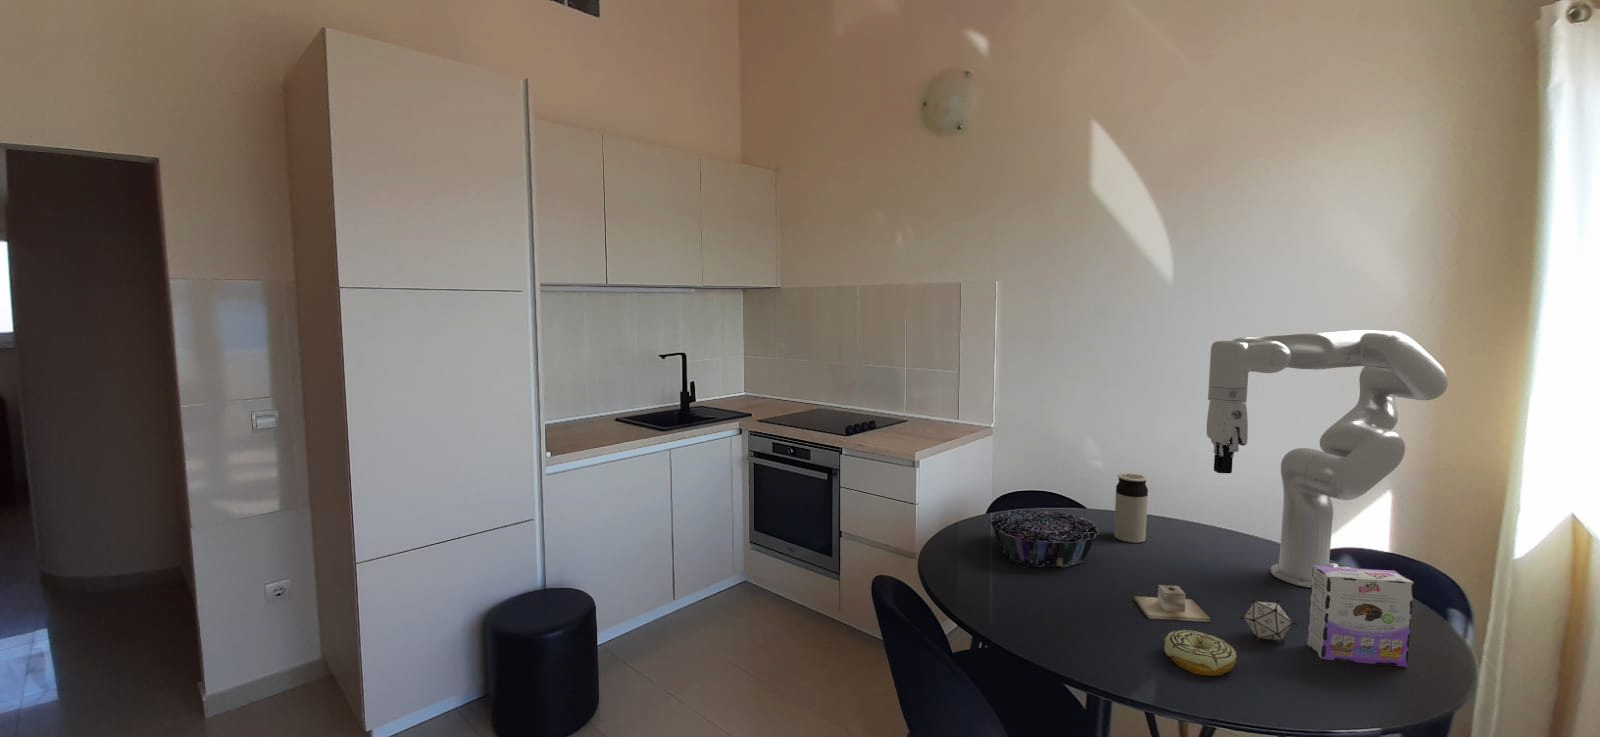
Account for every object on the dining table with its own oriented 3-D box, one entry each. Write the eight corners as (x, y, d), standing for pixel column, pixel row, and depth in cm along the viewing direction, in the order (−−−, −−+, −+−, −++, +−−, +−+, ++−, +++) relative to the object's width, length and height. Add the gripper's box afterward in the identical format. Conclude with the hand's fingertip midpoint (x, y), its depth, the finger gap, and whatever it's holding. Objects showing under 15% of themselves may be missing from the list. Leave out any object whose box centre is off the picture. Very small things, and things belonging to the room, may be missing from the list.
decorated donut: (1155, 662, 125) (1156, 641, 124) (1175, 640, 133) (1176, 620, 132) (1225, 687, 117) (1226, 665, 116) (1241, 661, 125) (1243, 640, 124)
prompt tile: (1191, 602, 148) (1192, 581, 148) (1210, 622, 139) (1211, 599, 139) (1134, 599, 150) (1135, 578, 150) (1149, 618, 141) (1150, 596, 141)
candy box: (1388, 652, 127) (1395, 569, 126) (1408, 668, 122) (1416, 582, 120) (1305, 644, 131) (1311, 563, 129) (1321, 660, 125) (1328, 575, 123)
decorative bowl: (983, 542, 192) (981, 508, 191) (1081, 536, 190) (1079, 502, 189) (1004, 579, 166) (1001, 540, 165) (1117, 573, 164) (1116, 534, 163)
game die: (1274, 661, 131) (1293, 639, 124) (1228, 634, 136) (1244, 611, 129) (1289, 629, 135) (1309, 605, 128) (1244, 603, 140) (1261, 579, 133)
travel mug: (1150, 543, 184) (1154, 480, 182) (1122, 543, 184) (1124, 480, 182) (1136, 533, 192) (1139, 472, 190) (1109, 533, 192) (1111, 472, 190)
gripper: (1262, 399, 146) (1257, 481, 147) (1229, 390, 160) (1224, 464, 162) (1225, 399, 147) (1220, 480, 149) (1195, 389, 161) (1191, 464, 163)
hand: (1222, 472), depth 155 cm, fingers closed
